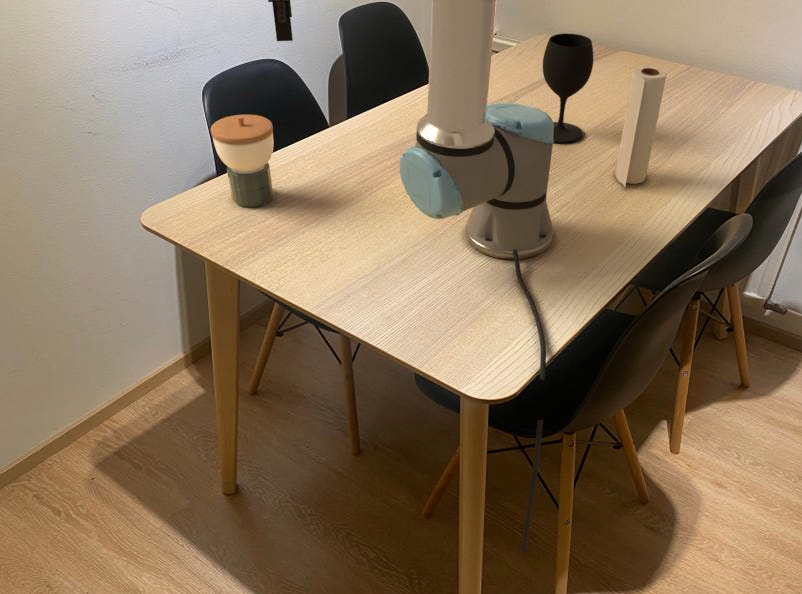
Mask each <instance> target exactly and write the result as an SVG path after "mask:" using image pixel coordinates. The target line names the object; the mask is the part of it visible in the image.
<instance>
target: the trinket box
mask: <svg viewBox="0 0 802 594" xmlns="http://www.w3.org/2000/svg"><path fill="white" fill-rule="evenodd" d="M210 134H211V137H212V140H213V145H214V148H215V151H216V154H217V156H218V157H219V159H220V161H221V162H222V163H223V164H224V165H225V166H228V167H229V168H231V169H232V171H234V172H236V173H239V174H252V173H256V172H259V171H261V170H262V169H264V167H265V165H266V164H267V163H269V161H270V160H271V158H272V156H273V152H274V146H275V145H274V127H273V122H272V121H271V120H270V119H268V118H266V116H265V117H264V116H262V115H258V114H235V115H229V116H225V117H222V118H220V119H218V120H216V121H215V122H213V124H212V125H211V127H210Z"/></svg>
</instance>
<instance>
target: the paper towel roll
mask: <svg viewBox="0 0 802 594" xmlns="http://www.w3.org/2000/svg"><path fill="white" fill-rule="evenodd" d="M666 79H667V72H666V71H665V70H664V69H662V68H659V67H654V66H638V67H636V68H634V69H633V70H632V76H631V81H630V86H629V87H630V88H629V93H628V99H627V105H626V111H625V116H624V123H623V128H622V133H621V140H620V145H619V151H618V156H617V163H616V169H615V178H616V179H617V181H618V182H619V183H620V184H621V185H623V186H624V188H626V186H627V184H632V185H633V184H634V185H635V184H641V183H643V182H645V180H646V178H647V174H648V168H649V163H650V159H651V154H652V148H653V144H654V140H655V133H656V130H657V129H656V128H657V124H658V119H659V115H660V109H661V104H662V100H663V95H664V89H665V84H666Z"/></svg>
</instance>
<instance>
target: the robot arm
mask: <svg viewBox="0 0 802 594" xmlns="http://www.w3.org/2000/svg"><path fill="white" fill-rule="evenodd" d="M267 2H268V3H271V4H272V11H273V20H274V28H275V38H276V42H293V41H294V39H293V29H292V21H291V18H293V14H292V13H293V12H292V5H291V0H267ZM496 11H497V0H431V11H430V37H429V62H428V65H429V66H428V87H427V88H428V89H427V90H428V91H427V92H428V93H427V113H426V114H425V115H424V116H423V117H421V118H420V119H419V120H418V122H417V123H416V135H415V137H416V139H415V142H416V143H415V145H414V146H413V145H412V146H409V147H408V148H407V149H406V150H405V151H404V152H403V153H402V154H401V155H400V159H399V174H400V175H399V176H400V179H401V182H402V185H403V188H404V190H405V192H406V194H407V195H408V197H409V199H410V201H411V202H412V204H413V205H414V206H415V207H416V208H417V209H418V210H419V211H420V212H421V213H422V214H424V215H426V216H427V217H429V218H431V219H434V220H444V219H447V218H450V217H453V216H459V215H461V214H462V213H463V212H465V211H468V210H470V209H471V211H470V214H469V217H468V218H467V222H466V225H465V226H466V227H465V238H466V240H467V243H468V244H469V245H470V246H471V247H472V248H473V249H474V250H475V251H477V252H479V253H481V254H483V255H486V256H489V257H492V258H495V259H496V258H497V259H502V260H503V259H504V260H513V262H514V269H515V274H516V277H517V281H518V283H519V285H520V286H519V287H521V290H522V292H523V294H524V296H525V297H526V300H527V301H528V303H529V304H528V305H529V307H530V309H531V312H532V315H533V318H534V321H535V325H536V328H537V332H538V339H539V346H540V357H539V359H540V360H539V363H540V364H539V368H540V369H539V379H540V380H541V381H545V380H546V375H547V373H546V372H547V371H546V370H547V369H546V368H547V346H546V338H545V333H544V328H543V324H542V320H541V318H540V315H539V311H538V309H537V306H536V304H535V302H534V299H533V297H532V295H531V292H530V291H529V289H528V287H527V285H526V284H525V281H524V278H523V276H522V271H521V265H520V260H524V259H529V258H534V257H536V256H539V255H541V254H543V253H544V252H546V251H547V250H548V249H549V248H550V246H551V244H552V241H553V234H554V230H553V223H552V219H551V215H550V211H549V207H548V202H547V196H548V195H547V194H548V186H549V178H550V170H551V162H552V154H553V148H554V147H553V145H554V143H555V142H554V139H553V131H554V125H553V122H554V121H553V119H552V117H551V116H550V115H549V114H548V113H547V112H545V111H543V110H542V109H540V108H537V107H534V106H532V105H527V104H524V103H517V102H507V101H505V102H494V103H490V104H488V98H489V88H490V76H491V67H492V65H491V64H492V56H493V55H492V53H493V43H494V34H495V33H494V32H495V31H494V30H495V22H496ZM543 424H544V419H538V420H537V424H536V434H535V444H534V454H533V460H532V461H533V462H532V469H531V478H530V484H529V490H528V499H527V506H526V513H525V519H524V526H523V533H522V541H521V548H520V552H521V554H526V552H527V545H528V537H529V532H530V531H529V530H530V523H531V518H532V512H533V511H532V510H533V504H534V497H535V490H536V484H537V477H538V469H539V461H540V454H541V445H542V436H543V426H544V425H543Z"/></svg>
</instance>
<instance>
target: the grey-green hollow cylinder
mask: <svg viewBox="0 0 802 594" xmlns="http://www.w3.org/2000/svg"><path fill="white" fill-rule="evenodd" d="M226 166H227V165H226ZM226 173H227V179H228V184H229V191H230V195H231V199H232V201H233V202H234V203H236V204H237V205H238V206H241V207H245V208H257V207H261V206H264V205H266V204H268V203H269V202H270V201H271V200H272V198H273V197H274V188H273V182H272V175H271V169H270V163H269V162H268V163H267V164H266V165H265V167H264V169H262V170H261V171H259V172H256V173H252V174H239V173H236V172H234V171H232V169H231V168H229V167H228V166H227V167H226Z"/></svg>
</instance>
